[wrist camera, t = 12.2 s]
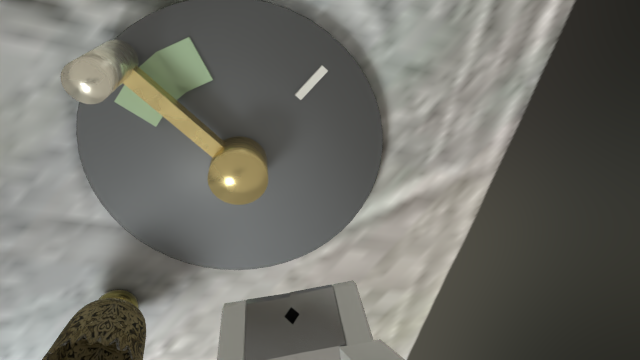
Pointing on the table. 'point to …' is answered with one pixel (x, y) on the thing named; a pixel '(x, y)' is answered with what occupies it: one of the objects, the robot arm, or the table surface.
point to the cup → (103, 331)
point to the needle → (170, 119)
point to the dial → (235, 134)
